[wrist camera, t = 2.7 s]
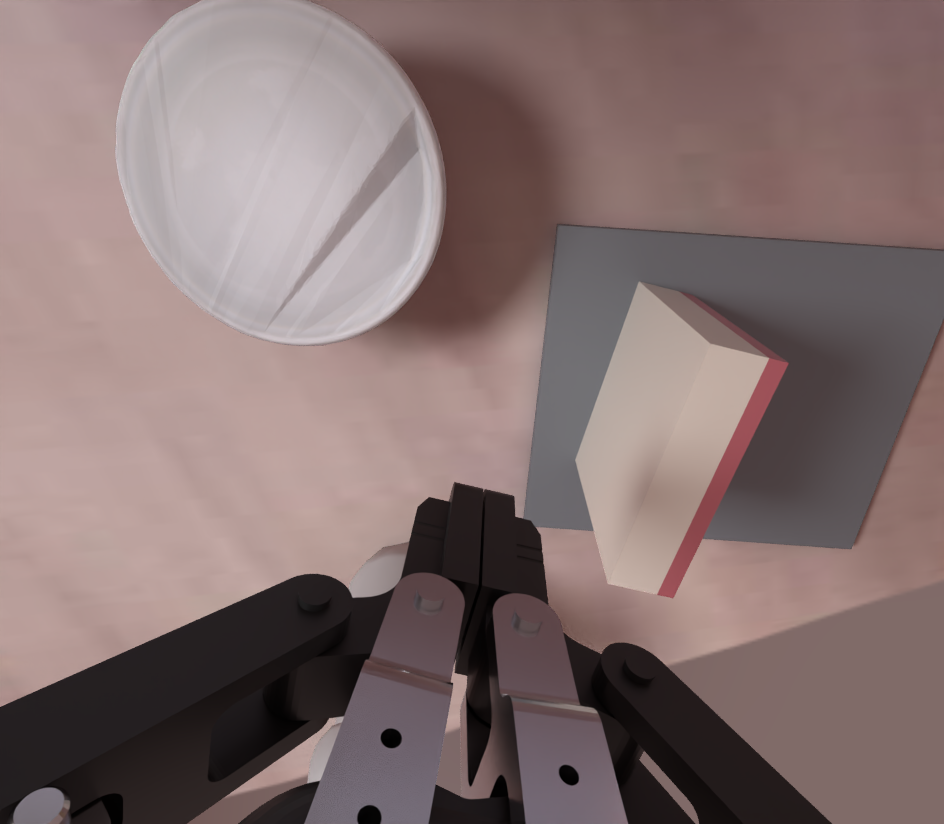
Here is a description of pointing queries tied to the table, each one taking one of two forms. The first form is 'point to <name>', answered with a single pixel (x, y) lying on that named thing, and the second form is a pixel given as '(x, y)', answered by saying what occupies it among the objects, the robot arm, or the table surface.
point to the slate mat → (776, 327)
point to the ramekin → (281, 169)
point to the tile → (669, 434)
